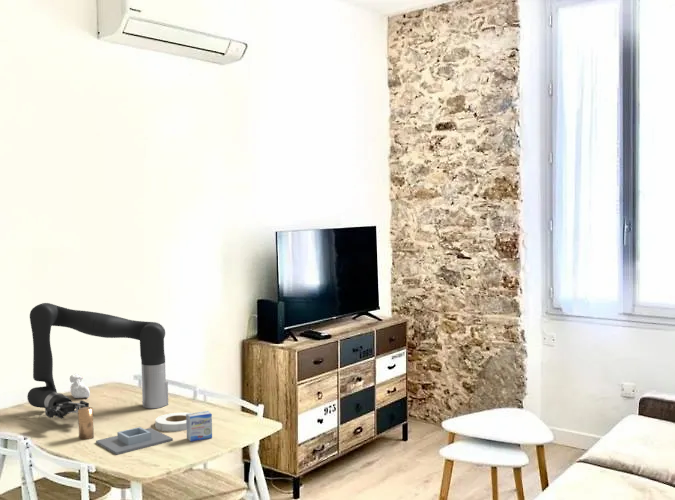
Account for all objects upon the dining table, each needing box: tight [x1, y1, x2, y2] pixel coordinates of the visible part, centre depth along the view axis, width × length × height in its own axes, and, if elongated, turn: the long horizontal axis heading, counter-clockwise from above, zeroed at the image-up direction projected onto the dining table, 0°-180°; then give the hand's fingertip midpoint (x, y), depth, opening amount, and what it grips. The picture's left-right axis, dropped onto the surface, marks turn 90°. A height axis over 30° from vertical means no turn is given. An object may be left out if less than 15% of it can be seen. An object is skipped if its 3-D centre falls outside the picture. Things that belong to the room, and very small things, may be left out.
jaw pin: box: [77, 406, 95, 441], centre depth 242 cm, size 5×5×10 cm
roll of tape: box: [154, 412, 192, 432], centre depth 255 cm, size 16×15×3 cm
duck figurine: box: [69, 373, 91, 399], centre depth 294 cm, size 12×8×11 cm
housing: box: [95, 426, 174, 456], centre depth 237 cm, size 20×16×3 cm
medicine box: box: [186, 410, 213, 443], centre depth 240 cm, size 8×4×9 cm, turn 117°
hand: (74, 413), depth 249 cm, fingers open, 8 cm apart
